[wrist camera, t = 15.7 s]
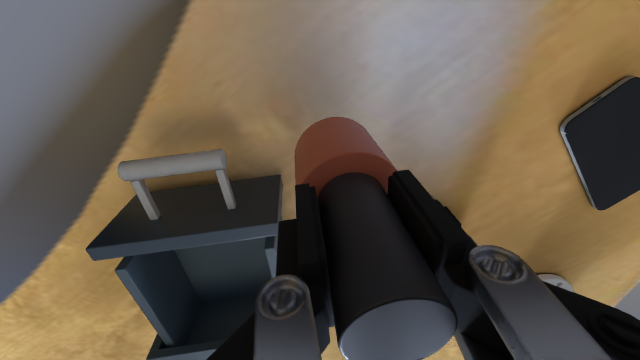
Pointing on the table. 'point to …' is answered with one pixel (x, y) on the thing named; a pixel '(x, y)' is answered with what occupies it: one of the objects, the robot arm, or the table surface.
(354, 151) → the nail polish bottle
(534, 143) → the table surface
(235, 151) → the table surface
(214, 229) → the drawer
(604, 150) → the smartphone
